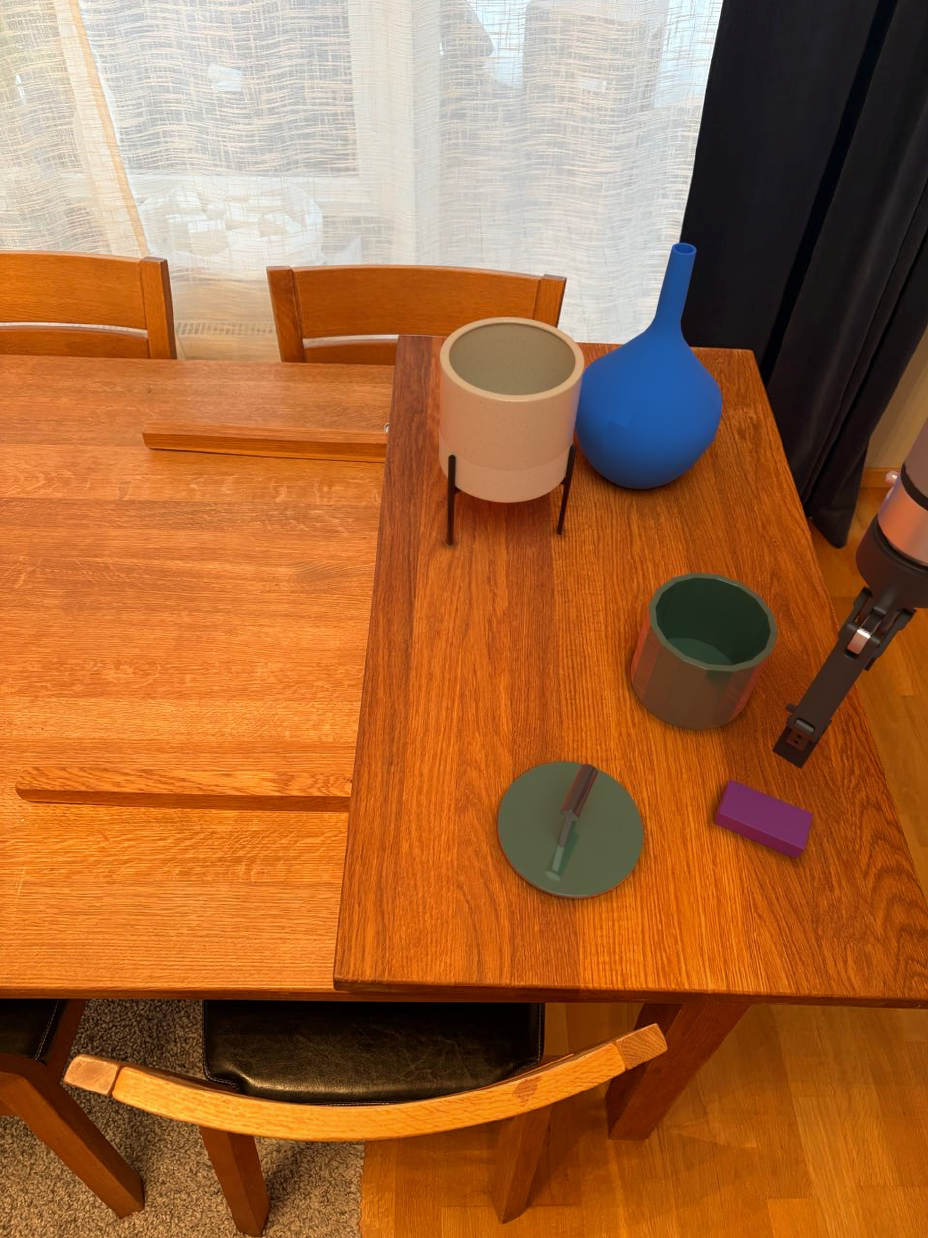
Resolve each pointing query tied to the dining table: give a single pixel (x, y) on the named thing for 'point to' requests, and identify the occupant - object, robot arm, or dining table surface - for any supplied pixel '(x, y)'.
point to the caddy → (701, 650)
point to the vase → (650, 396)
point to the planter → (508, 411)
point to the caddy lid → (570, 830)
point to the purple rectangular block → (763, 819)
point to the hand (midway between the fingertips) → (823, 707)
